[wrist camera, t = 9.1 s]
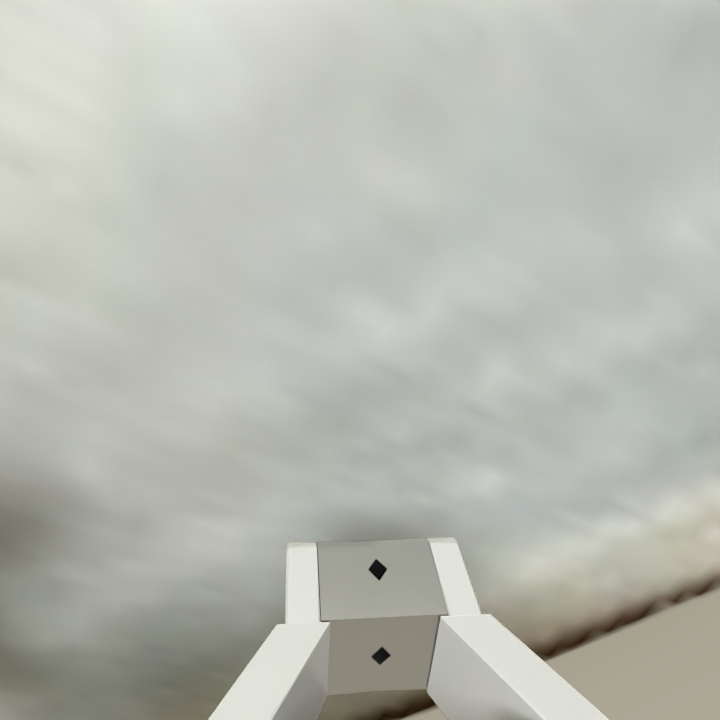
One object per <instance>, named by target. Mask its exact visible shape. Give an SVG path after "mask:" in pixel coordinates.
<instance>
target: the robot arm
mask: <svg viewBox="0 0 720 720" xmlns="http://www.w3.org/2000/svg"><path fill="white" fill-rule="evenodd" d="M418 689H427V693H428V694H429V696H430V697H431V698H432V699H433V701H434V702H435V703H436V705H437V706H438V707H439V709H440V710H441V711H442V713H443V714H444V715H445V717H446V718H447V719H448V720H609V719H608V718H607V717H606V716H605V715H604V714H603V713H601V712H600V711H599V710H598V709H597V708H596V707H595V706H594V705H593V704H591V703H590V702H589V701H588V700H587V699H586V698H585V697H583V696H582V695H581V694H580V693H579V692H578V691H577V690H576V689H574V688H573V687H572V686H571V685H570V684H569V683H568V682H567V681H565V680H564V679H563V678H562V677H561V676H560V675H559V674H558V673H556V672H555V671H554V670H553V669H552V668H551V667H550V666H549V665H547V664H546V663H545V662H544V661H543V660H542V659H541V658H540V657H538V656H537V655H536V654H535V653H534V652H533V651H532V650H531V649H529V648H528V647H527V646H526V645H525V644H524V643H523V642H522V641H520V640H519V639H518V638H517V637H516V636H515V635H514V634H513V633H511V632H510V631H509V630H508V629H507V628H506V627H505V626H504V625H502V624H501V623H500V622H499V621H498V620H497V619H496V618H495V617H493V616H492V615H491V614H482V613H481V610H480V607H479V604H478V601H477V598H476V595H475V592H474V589H473V586H472V583H471V580H470V578H469V575H468V572H467V569H466V566H465V563H464V560H463V557H462V554H461V551H460V548H459V545H458V542H457V541H456V540H455V538H454V537H446V538H426V539H424V538H421V539H399V540H376V541H344V542H317V545H316V542H292V543H288V544H287V554H286V614H285V624H276V626H275V627H274V629H273V630H272V631H271V633H270V634H269V636H268V637H267V638H266V640H265V641H264V642H263V644H262V645H261V647H260V648H259V649H258V651H257V652H256V654H255V655H254V656H253V658H252V659H251V661H250V662H249V663H248V665H247V666H246V667H245V669H244V670H243V672H242V673H241V674H240V676H239V677H238V679H237V680H236V681H235V683H234V684H233V686H232V687H231V688H230V690H229V691H228V692H227V694H226V695H225V697H224V698H223V699H222V701H221V702H220V704H219V705H218V706H217V708H216V709H215V711H214V712H213V713H212V715H211V716H210V717H209V719H208V720H317V718H318V716H319V714H320V712H321V710H322V708H323V706H324V704H325V702H326V700H327V696H329V695H339V694H350V693H360V692H371V691H390V690H418Z"/></svg>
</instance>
